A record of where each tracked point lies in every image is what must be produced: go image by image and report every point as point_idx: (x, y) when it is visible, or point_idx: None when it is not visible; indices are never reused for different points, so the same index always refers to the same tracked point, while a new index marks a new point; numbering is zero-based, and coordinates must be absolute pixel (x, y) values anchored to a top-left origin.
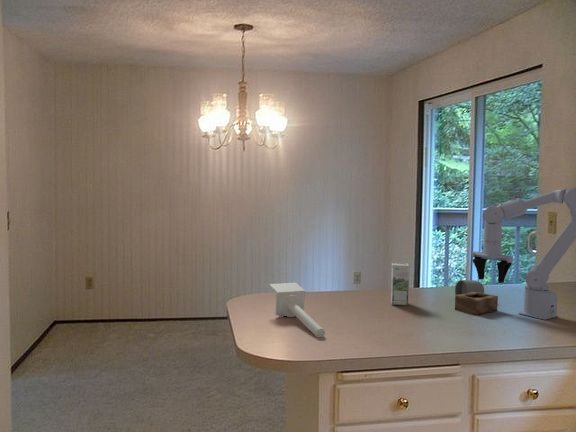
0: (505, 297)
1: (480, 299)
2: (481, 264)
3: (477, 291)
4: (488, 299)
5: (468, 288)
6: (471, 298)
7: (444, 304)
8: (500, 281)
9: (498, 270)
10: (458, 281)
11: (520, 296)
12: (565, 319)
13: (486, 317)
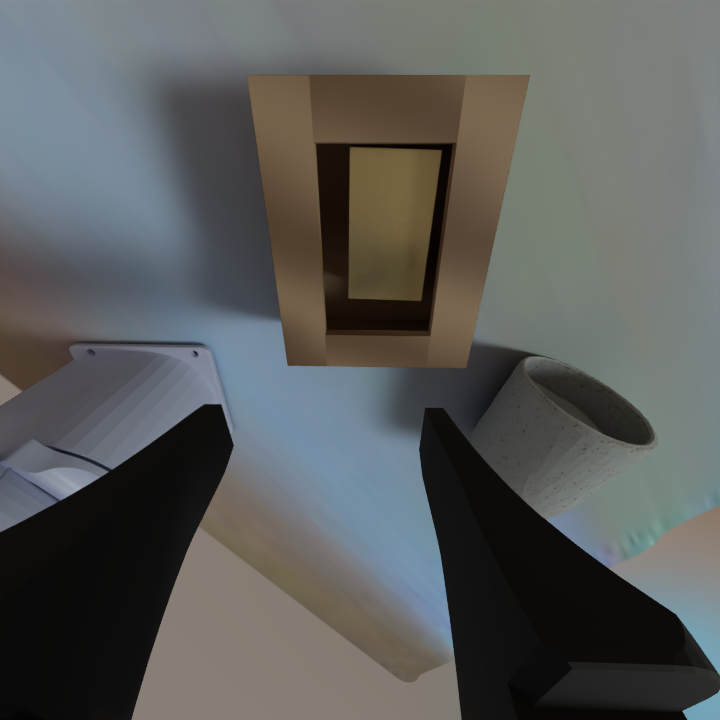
0: (429, 522)
1: (261, 135)
2: (470, 593)
3: (490, 433)
4: (275, 255)
5: (537, 400)
6: (335, 90)
7: (604, 195)
8: (192, 414)
9: (114, 504)
10: (651, 442)
11: (403, 555)
12: None
13: (214, 107)
